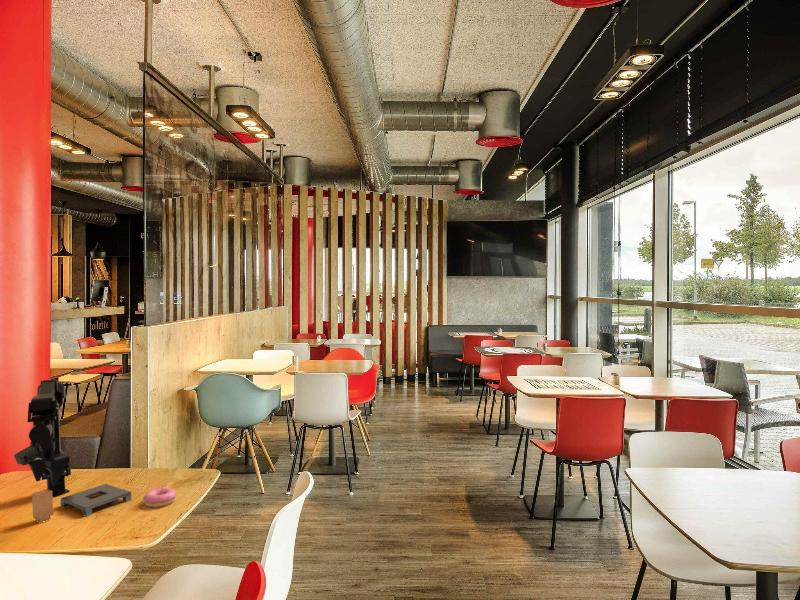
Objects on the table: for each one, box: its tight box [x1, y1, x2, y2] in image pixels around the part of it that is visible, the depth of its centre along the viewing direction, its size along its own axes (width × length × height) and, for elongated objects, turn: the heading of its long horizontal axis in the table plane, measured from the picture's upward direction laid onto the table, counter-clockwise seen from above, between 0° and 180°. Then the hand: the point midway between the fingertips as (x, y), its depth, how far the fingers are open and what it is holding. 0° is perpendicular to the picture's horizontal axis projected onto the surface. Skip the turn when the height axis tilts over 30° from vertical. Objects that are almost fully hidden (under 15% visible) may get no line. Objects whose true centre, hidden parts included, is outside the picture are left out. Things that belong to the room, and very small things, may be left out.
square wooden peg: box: [31, 488, 54, 523], centre depth 185 cm, size 4×4×10 cm
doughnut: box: [142, 487, 177, 508], centre depth 199 cm, size 11×11×4 cm
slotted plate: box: [60, 483, 132, 517], centre depth 199 cm, size 16×16×3 cm
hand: (46, 483), depth 185 cm, fingers open, 9 cm apart
